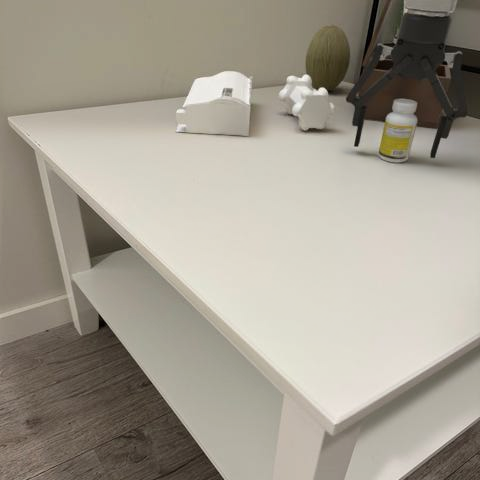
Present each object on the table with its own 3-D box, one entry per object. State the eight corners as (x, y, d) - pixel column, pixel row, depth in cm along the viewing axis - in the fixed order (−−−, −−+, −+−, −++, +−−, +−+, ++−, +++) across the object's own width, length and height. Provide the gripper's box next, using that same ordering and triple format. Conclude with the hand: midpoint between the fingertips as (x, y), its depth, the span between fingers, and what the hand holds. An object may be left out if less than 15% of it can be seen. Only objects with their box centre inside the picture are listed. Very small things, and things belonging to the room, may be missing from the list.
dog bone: (333, 132, 99) (339, 90, 94) (292, 132, 97) (297, 89, 92) (312, 111, 110) (317, 73, 105) (275, 111, 109) (279, 72, 104)
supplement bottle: (388, 150, 91) (401, 95, 85) (413, 159, 88) (428, 102, 82) (371, 156, 88) (383, 100, 82) (396, 165, 85) (411, 107, 79)
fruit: (352, 90, 128) (363, 26, 119) (331, 98, 121) (341, 29, 112) (315, 83, 134) (324, 20, 124) (293, 89, 127) (300, 23, 117)
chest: (436, 111, 116) (449, 65, 110) (436, 128, 104) (451, 78, 98) (361, 102, 120) (369, 57, 113) (353, 117, 108) (363, 68, 102)
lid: (410, -42, 101) (370, -56, 101) (407, -42, 89) (362, -57, 90) (371, 55, 113) (337, 43, 114) (365, 67, 102) (326, 53, 102)
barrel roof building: (189, 100, 114) (188, 67, 109) (250, 103, 114) (252, 71, 110) (175, 132, 94) (174, 94, 90) (249, 136, 94) (251, 99, 90)
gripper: (510, 17, 75) (464, 153, 88) (350, 4, 80) (329, 134, 93) (517, 23, 69) (466, 167, 82) (344, 7, 74) (323, 146, 87)
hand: (393, 150), depth 87 cm, fingers open, 13 cm apart
